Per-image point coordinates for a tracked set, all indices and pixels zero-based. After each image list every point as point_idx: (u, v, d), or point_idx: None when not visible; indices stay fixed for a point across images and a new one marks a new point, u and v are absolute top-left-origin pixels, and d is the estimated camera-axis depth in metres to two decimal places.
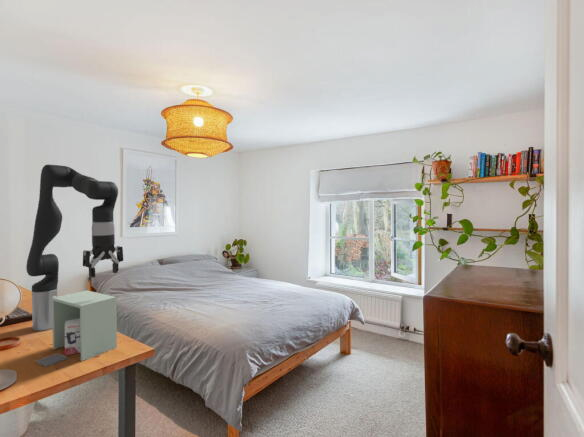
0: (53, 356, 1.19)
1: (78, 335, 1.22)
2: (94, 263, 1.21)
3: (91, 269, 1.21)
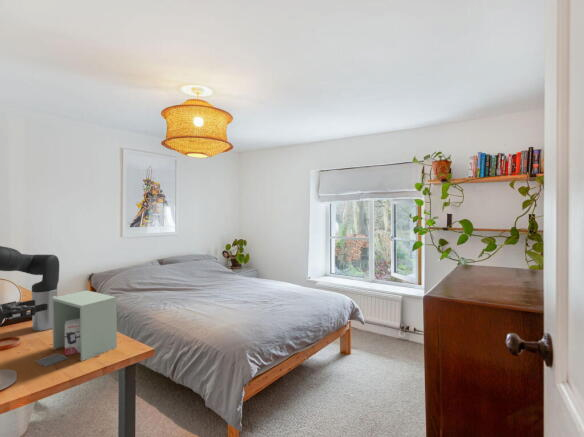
0: (53, 356, 1.19)
1: (78, 335, 1.22)
2: None
3: None
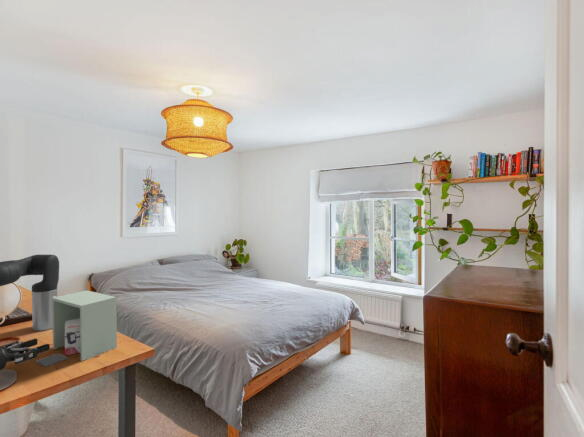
0: (53, 356, 1.19)
1: (78, 335, 1.22)
2: None
3: None
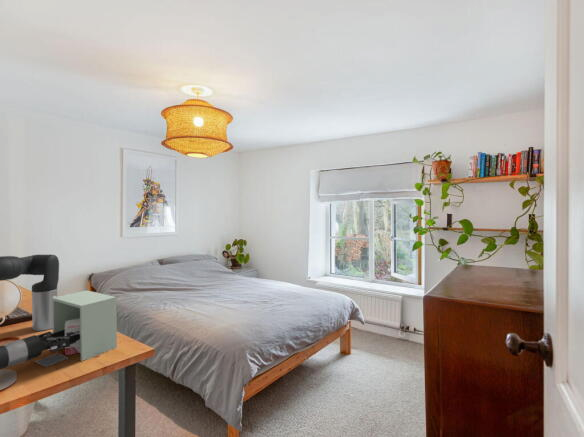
0: (53, 356, 1.19)
1: None
2: None
3: None
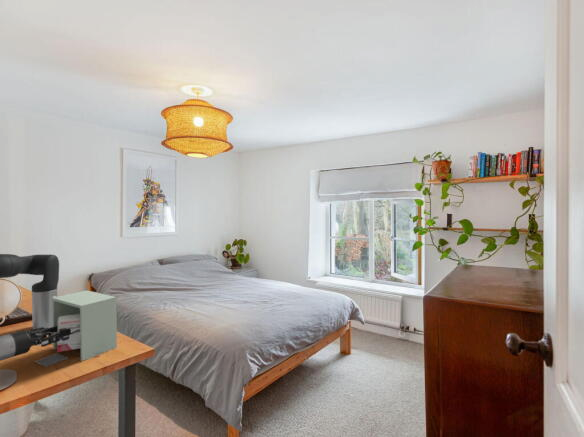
0: (53, 356, 1.19)
1: (71, 331, 1.19)
2: None
3: None
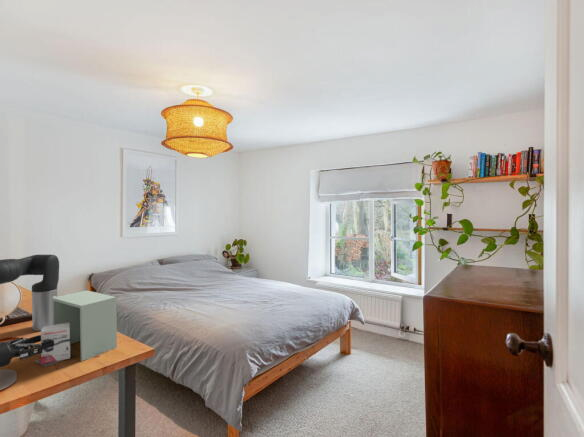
0: None
1: (56, 342, 1.15)
2: None
3: None
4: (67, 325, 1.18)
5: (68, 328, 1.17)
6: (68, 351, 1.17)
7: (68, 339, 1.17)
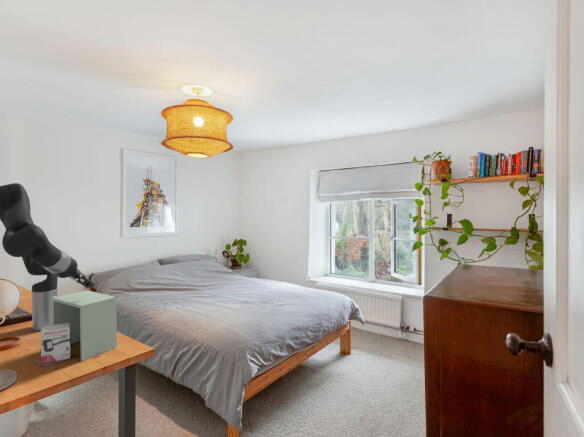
0: None
1: (56, 342, 1.15)
2: None
3: None
4: (67, 325, 1.18)
5: (68, 328, 1.17)
6: (68, 351, 1.17)
7: (68, 339, 1.17)
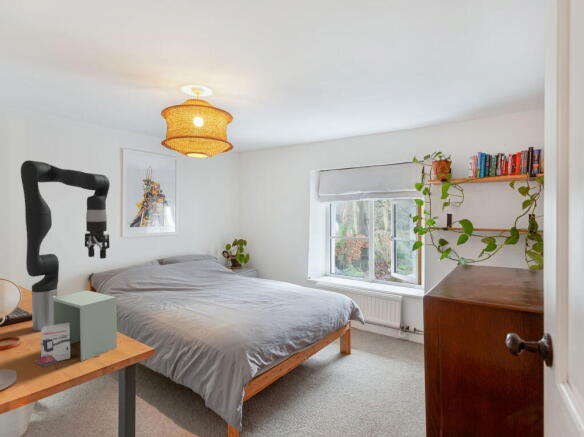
0: None
1: (56, 342, 1.15)
2: (88, 244, 1.41)
3: None
4: (67, 325, 1.18)
5: (68, 328, 1.17)
6: (68, 351, 1.17)
7: (68, 339, 1.17)
